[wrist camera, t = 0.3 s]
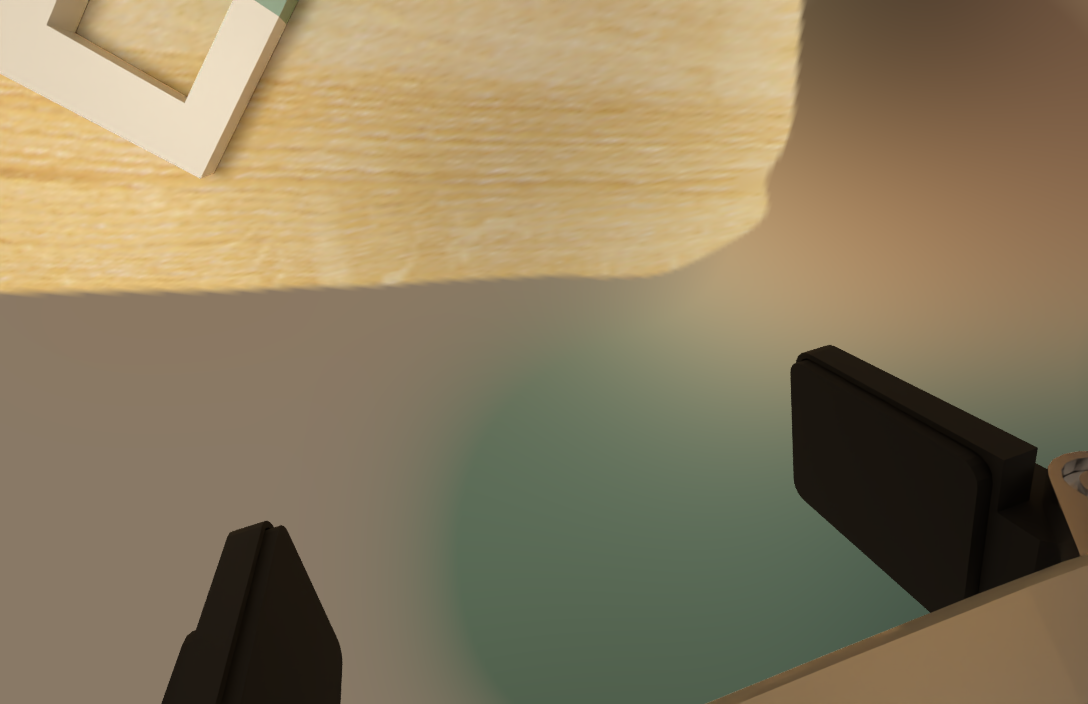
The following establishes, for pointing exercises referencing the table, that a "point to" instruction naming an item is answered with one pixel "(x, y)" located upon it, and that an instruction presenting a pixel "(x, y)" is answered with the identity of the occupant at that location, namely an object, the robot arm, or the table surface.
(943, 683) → the robot arm
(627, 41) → the table surface
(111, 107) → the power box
